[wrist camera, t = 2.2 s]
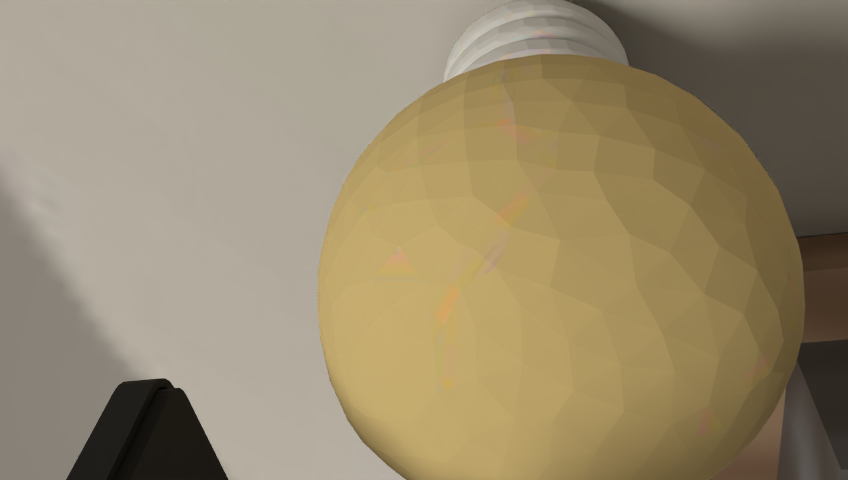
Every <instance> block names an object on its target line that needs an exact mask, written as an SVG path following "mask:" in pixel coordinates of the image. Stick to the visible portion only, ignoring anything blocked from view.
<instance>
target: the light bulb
mask: <svg viewBox="0 0 848 480" xmlns="http://www.w3.org/2000/svg"><path fill="white" fill-rule="evenodd" d="M318 315H319V327H320V339H321V344H322V348H323V352H324V356H325V361H326V365H327V369H328V374H329V378H330V382H331V384H332V386H333V388H334V391H335V393H336V395H337V397H338V399H339V402H340V404H341V406H342V408H343V411H344V413H345V415H346V417H347V420H348V421H349V423H350V424H351V426H352V427H353V428H354V430H355V431H356V433H357V434H358V436H359V437H360V439H361V440H362V441H363V443H365V444H366V445H367V446H368V447H369V448H370V449H371V450H372V451H373V452H374V453H375V454H376V455H377V456H378V457H379V458H380V459H382V460H383V461H384V462H385V463H386V464H387V465H388V466H389V467H390V468H392V469H393V470H394V471H396V472H397V473H398V474H400V475H401V476H402V477H404V478H405V479H406V480H710V479H712V478H713V477H714V476H715V475H717V474H718V473H719V472H720V471H722V470H723V469H724V468H725V467H727V466H728V465H729V464H730V463H732V462H733V461H734V460H735V459H736V458H737V457H738V456H739V454H740V453H741V452H742V451H743V450H744V449H745V448H746V447H747V446H748V445H749V444H750V443H751V442H752V441H753V440H754V438H755V437H756V436H757V435H758V433H759V432H760V430H761V429H762V428H763V426H764V425H765V423H766V422H767V421H768V419H769V418H770V416H771V415H772V413H773V412H774V411H775V409H776V406H777V404H778V402H779V400H780V398H781V396H782V394H783V392H784V390H785V388H786V385H787V383H788V381H789V379H790V376H791V374H792V372H793V370H794V368H795V365H796V361H797V357H798V353H799V349H800V345H801V341H802V337H803V333H804V316H805V297H804V280H803V264H802V259H801V254H800V249H799V245H798V242H797V239H796V236H795V234H794V231H793V228H792V226H791V223H790V220H789V218H788V215H787V212H786V209H785V207H784V204H783V201H782V199H781V196H780V193H779V190H778V189H777V187H776V186H775V184H774V183H773V181H772V180H771V178H770V177H769V175H768V174H767V172H766V171H765V170H764V168H763V167H762V165H761V164H760V162H759V161H758V160H757V158H756V157H755V155H754V154H753V152H752V151H751V149H750V148H749V147H748V145H747V144H746V142H745V141H744V139H743V138H742V137H741V136H740V135H739V134H738V133H737V132H736V131H735V130H733V129H732V128H731V127H730V126H729V125H728V124H727V123H726V122H724V121H723V120H722V119H721V118H720V117H719V116H718V115H716V114H715V113H714V112H713V111H712V110H711V109H710V108H708V107H707V106H706V105H705V104H704V103H702V102H701V101H700V100H699V99H698V98H697V97H695V96H694V95H692V94H690V93H688V92H686V91H685V90H683V89H681V88H679V87H677V86H676V85H674V84H672V83H670V82H668V81H667V80H665V79H663V78H661V77H659V76H657V75H655V74H652V73H649V72H646V71H642V70H639V69H636V68H633V67H630V66H629V63H628V59H627V56H626V53H625V50H624V48H623V46H622V44H621V43H620V41H619V39H618V37H617V36H616V35H615V33H614V32H613V31H612V30H611V28H610V27H609V26H608V25H607V24H606V23H605V22H604V21H602V20H601V19H600V18H599V17H597V16H596V15H595V14H593V13H592V12H590V11H589V10H587V9H585V8H583V7H580V6H578V5H575V4H573V3H570V2H568V1H565V0H518V1H513V2H508V3H506V4H504V5H502V6H500V7H498V8H496V9H493V10H491V11H489V12H487V13H486V14H485V15H483V16H482V17H481V18H479V19H478V20H477V21H476V22H474V23H473V24H472V25H471V26H469V27H468V29H467V30H466V31H465V32H464V33H463V35H462V36H461V37H460V38H459V40H458V41H457V42H456V43H455V45H454V47H453V49H452V51H451V53H450V56H449V59H448V62H447V65H446V68H445V71H444V79H443V83H442V84H440V85H438V86H436V87H435V88H433V89H431V90H429V91H428V92H427V93H425V94H424V95H423V96H421V97H420V98H419V99H417V100H416V101H414V102H413V103H412V104H410V105H409V106H408V107H406V108H405V109H404V110H402V111H401V112H400V113H398V114H397V115H396V116H395V117H394V118H393V119H392V120H391V121H390V122H389V124H388V125H387V126H386V127H385V128H384V129H383V130H382V131H381V133H380V134H379V135H378V136H377V137H376V138H375V139H374V140H373V141H372V143H371V144H370V145H369V146H368V147H367V149H366V150H365V151H364V152H363V153H362V155H361V156H360V157H359V158H358V160H357V162H356V164H355V165H354V167H353V169H352V170H351V172H350V174H349V176H348V177H347V179H346V181H345V183H344V185H343V187H342V189H341V192H340V194H339V196H338V198H337V201H336V203H335V205H334V207H333V210H332V212H331V216H330V220H329V223H328V227H327V231H326V235H325V238H324V242H323V246H322V251H321V258H320V264H319V271H318Z"/></svg>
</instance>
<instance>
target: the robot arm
mask: <svg viewBox="0 0 848 480" xmlns="http://www.w3.org/2000/svg"><path fill="white" fill-rule="evenodd" d="M66 480H228V478H227V476H226V474H225V472H224V470H223V468H222V466H221V464H220V462H219V460H218V458H217V456H216V454H215V452H214V450H213V448H212V446H211V444H210V442H209V440H208V438H207V436H206V434H205V432H204V430H203V428H202V426H201V424H200V422H199V420H198V418H197V416H196V414H195V412H194V410H193V408H192V406H191V404H190V402H189V400H188V398H187V396H186V394H185V393H184V391H183V390H182V389H180V388H174V387H173V385H172V384H171V382H170V381H168V380H167V379H150V380H139V381H128V382H123V383H121V384H120V385H118V387H117V388H116V389H115V391H114V393H113V394H112V396H111V398H110V400H109V402H108V404H107V405H106V407H105V409H104V411H103V413H102V415H101V416H100V418H99V420H98V422H97V424H96V426H95V428H94V430H93V431H92V433H91V435H90V437H89V439H88V441H87V442H86V444H85V446H84V448H83V450H82V452H81V454H80V455H79V457H78V459H77V461H76V463H75V465H74V466H73V468H72V470H71V472H70V474H69V476H68V478H67V479H66Z"/></svg>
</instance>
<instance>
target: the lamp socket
mask: <svg viewBox="0 0 848 480" xmlns="http://www.w3.org/2000/svg"><path fill="white" fill-rule="evenodd" d="M796 239H797V242H798V245H799V249H800V254H801V259H802V264H803V280H804V297H805V316H804V333H803V337H802V341H801V345H800V349H799V353H798V357H797V361H796V365H795V368H794V370H793V372H792V374H791V376H790V379H789V381H788V383H787V385H786V388H785V390H784V392H783V394H782V396H781V398H780V400H779V402H778V404H777V406H776V409H775V411H774V412H773V413H772V415H771V416H770V418H769V419H768V421H767V422H766V423H765V425H764V426H763V428H762V429H761V430H760V432H759V433H758V435H757V436H756V437H755V438H754V440H753V441H752V442H751V443H750V444H749V445H748V446H747V447H746V448H745V449H744V450H743V451H742V452H741V453H740V454H739V456H738V457H737V458H736V459H735V460H734V461H733V462H732V463H730V464H729V465H728V466H727V467H725V468H724V469H723V470H722V471H720V472H719V473H718V474H717V475H715V476H714V477H713V478H712V479H710V480H848V233H843V234H833V235H823V236H813V237H802V238H796Z"/></svg>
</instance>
